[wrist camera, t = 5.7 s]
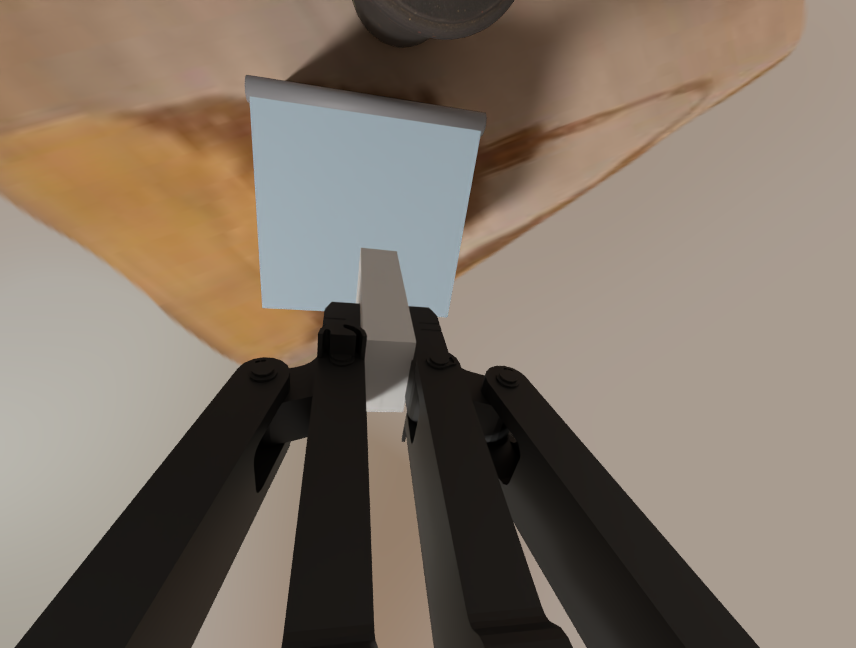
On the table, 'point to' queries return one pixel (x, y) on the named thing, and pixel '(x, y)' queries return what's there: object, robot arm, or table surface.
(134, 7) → the table surface
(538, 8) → the table surface
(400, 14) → the container
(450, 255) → the lid
